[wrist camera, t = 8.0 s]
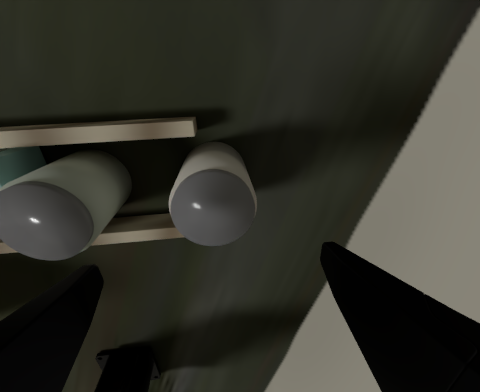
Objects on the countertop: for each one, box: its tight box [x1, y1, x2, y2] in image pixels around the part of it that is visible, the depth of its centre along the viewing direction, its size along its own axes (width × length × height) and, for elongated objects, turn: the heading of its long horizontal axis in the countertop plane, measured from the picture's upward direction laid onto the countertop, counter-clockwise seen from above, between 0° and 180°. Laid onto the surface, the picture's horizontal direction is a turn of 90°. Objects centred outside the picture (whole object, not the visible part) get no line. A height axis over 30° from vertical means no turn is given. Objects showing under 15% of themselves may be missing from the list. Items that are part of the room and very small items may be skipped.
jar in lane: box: [0, 149, 132, 261], centre depth 15 cm, size 5×5×7 cm
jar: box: [169, 142, 257, 246], centre depth 16 cm, size 5×5×7 cm
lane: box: [0, 116, 197, 254], centre depth 17 cm, size 19×9×3 cm, turn 92°
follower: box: [0, 146, 47, 188], centre depth 16 cm, size 1×6×4 cm, turn 3°
